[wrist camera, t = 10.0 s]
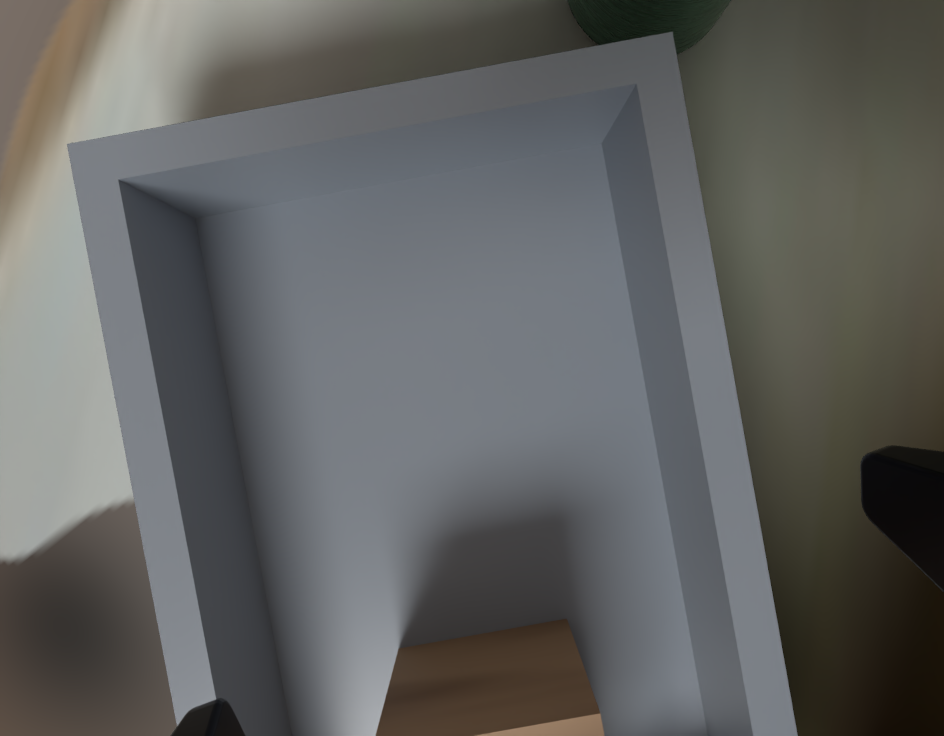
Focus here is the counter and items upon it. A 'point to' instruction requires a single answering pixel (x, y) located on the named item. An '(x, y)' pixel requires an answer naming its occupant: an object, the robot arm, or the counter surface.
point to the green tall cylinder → (647, 19)
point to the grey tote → (435, 394)
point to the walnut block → (492, 686)
